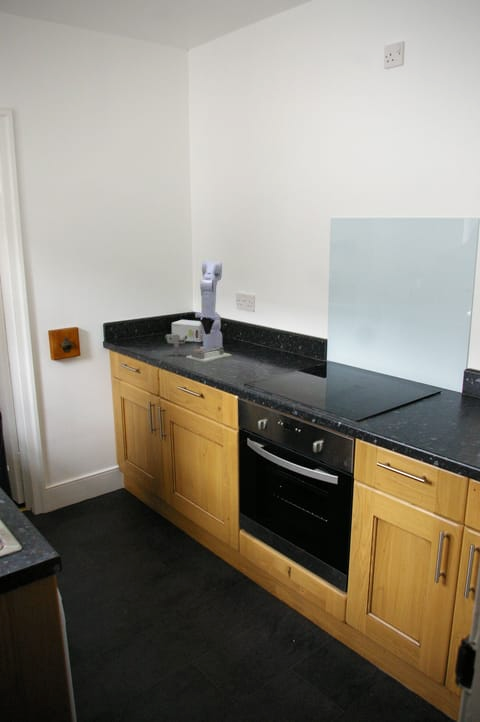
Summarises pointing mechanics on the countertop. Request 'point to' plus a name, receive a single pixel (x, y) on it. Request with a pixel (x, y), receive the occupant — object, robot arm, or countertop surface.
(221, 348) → the strip
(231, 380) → the countertop surface
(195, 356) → the board
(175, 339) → the mechanical component
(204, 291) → the robot arm
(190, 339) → the supplement box
